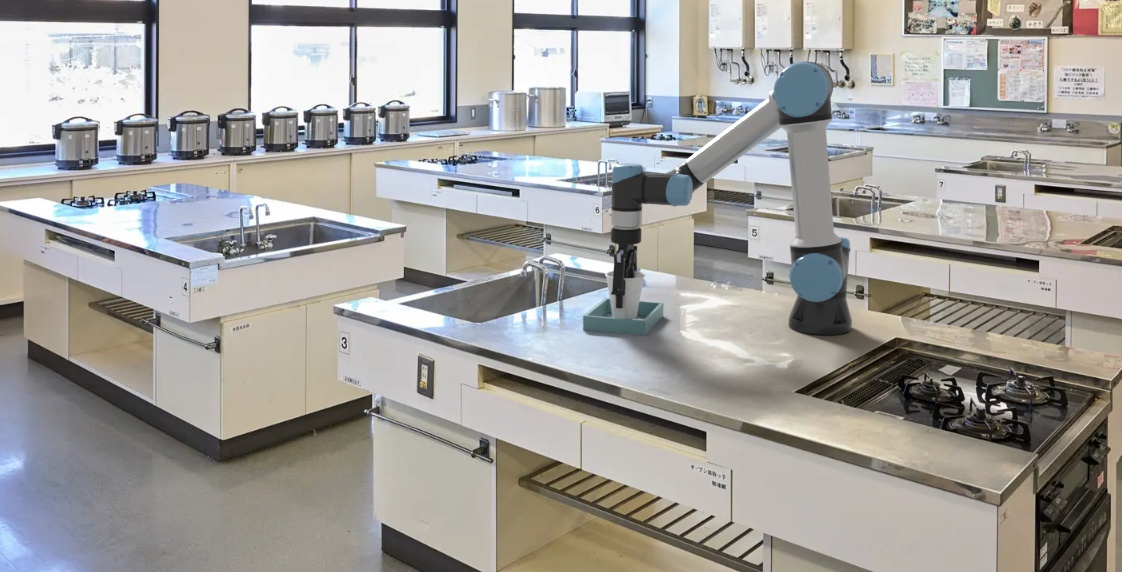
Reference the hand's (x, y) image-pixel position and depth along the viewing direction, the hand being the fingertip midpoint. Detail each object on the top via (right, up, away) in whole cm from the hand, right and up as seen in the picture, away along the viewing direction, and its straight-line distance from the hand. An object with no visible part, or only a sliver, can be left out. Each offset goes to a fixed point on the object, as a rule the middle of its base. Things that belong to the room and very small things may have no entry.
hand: (624, 315), depth 250 cm
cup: (0, -1, 0) cm, 1 cm away
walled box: (0, -2, 0) cm, 2 cm away
